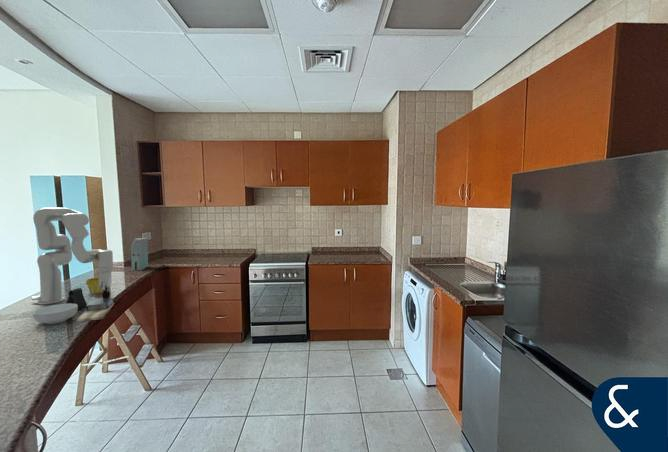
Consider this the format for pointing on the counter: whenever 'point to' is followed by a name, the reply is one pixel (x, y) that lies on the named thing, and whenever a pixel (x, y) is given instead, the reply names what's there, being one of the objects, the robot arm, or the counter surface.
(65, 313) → the cereal bowl
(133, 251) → the device
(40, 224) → the robot arm
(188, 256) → the counter surface
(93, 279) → the plant pot
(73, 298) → the door stopper
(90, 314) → the board
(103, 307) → the housing
